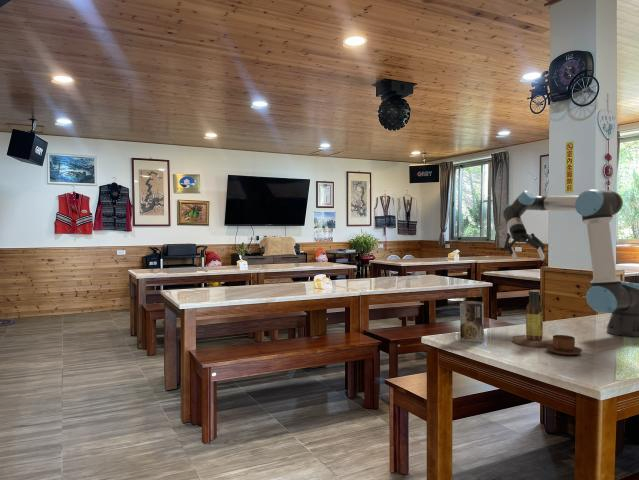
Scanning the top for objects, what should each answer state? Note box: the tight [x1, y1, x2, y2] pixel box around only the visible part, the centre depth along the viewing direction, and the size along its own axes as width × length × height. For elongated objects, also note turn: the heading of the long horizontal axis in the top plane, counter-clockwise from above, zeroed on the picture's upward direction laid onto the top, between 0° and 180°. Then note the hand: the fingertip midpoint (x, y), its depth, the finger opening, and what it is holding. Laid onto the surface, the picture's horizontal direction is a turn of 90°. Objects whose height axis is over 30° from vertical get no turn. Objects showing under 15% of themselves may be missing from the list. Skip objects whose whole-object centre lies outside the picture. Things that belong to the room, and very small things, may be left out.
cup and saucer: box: [546, 334, 583, 356], centre depth 176 cm, size 12×12×6 cm
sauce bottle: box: [525, 290, 544, 340], centre depth 192 cm, size 6×6×20 cm
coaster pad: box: [512, 334, 553, 349], centre depth 192 cm, size 16×16×2 cm
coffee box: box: [459, 300, 485, 343], centre depth 197 cm, size 9×6×16 cm
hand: (529, 258), depth 229 cm, fingers open, 13 cm apart
